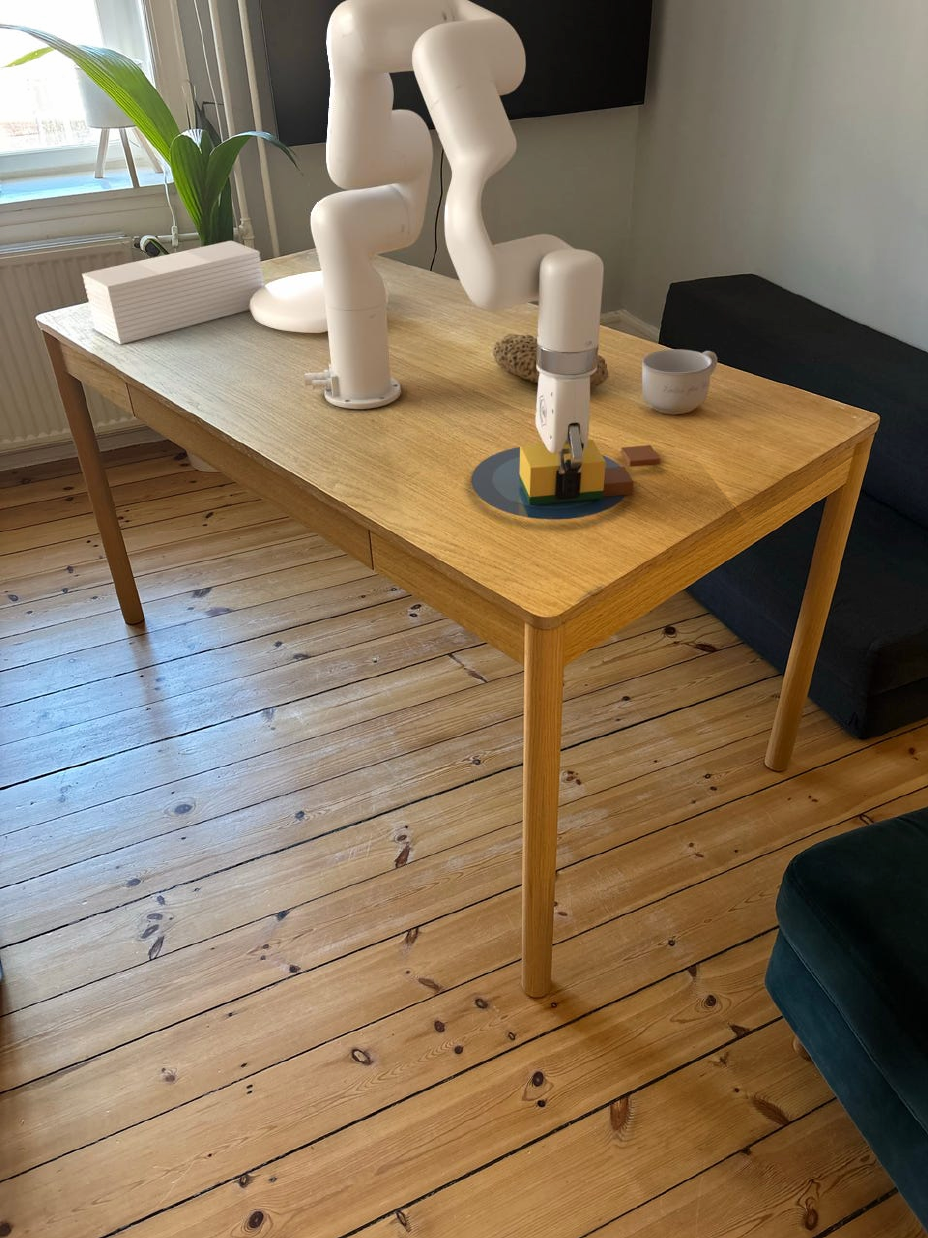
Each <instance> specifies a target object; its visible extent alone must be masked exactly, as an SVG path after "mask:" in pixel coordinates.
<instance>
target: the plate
mask: <svg viewBox="0 0 928 1238" xmlns="http://www.w3.org/2000/svg"><path fill="white" fill-rule="evenodd" d="M383 283H384V286H385V294H386V306H387V305H388V302H389V298H390V291H389V287H388V285H387V283H386V282H385V281H384V280H383ZM263 286H264V287H262V288H260V289H259V290H258V291H257V292H256V293H254V295H253V297H252V298H251V300H250V310H249V311H250V313H251V314H252V317H253V319H254V320H255V321H256V322H258V324H260V325H263V326H264V327H265V326H266V327H268V328H271V329H275V330H279V331H284V332H290V333H291V332H292V333H303V334H304V333H305V334H320V333H326V332H328V326H327V315H326V305H325V296H324V286H323V278H322V272H321V270H318V271H317V270H316V271H311V272H304V273H299V274H294V275H291V276H287V277H283V278H280V279H277V280H274V281H271V282H269V283H267V284H266V285H263Z"/></svg>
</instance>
